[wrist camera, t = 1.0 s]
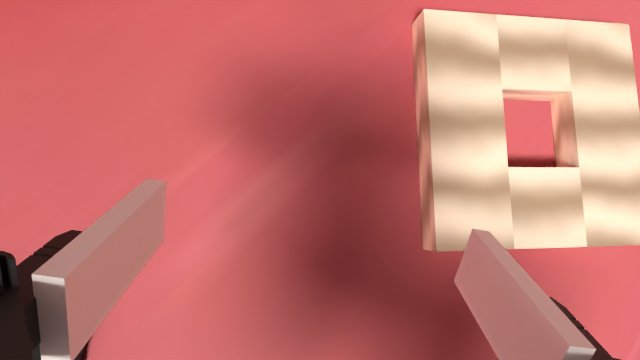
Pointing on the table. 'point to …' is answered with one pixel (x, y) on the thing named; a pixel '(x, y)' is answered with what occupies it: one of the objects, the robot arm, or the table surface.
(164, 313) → the table surface
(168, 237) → the table surface
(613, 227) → the hole block
